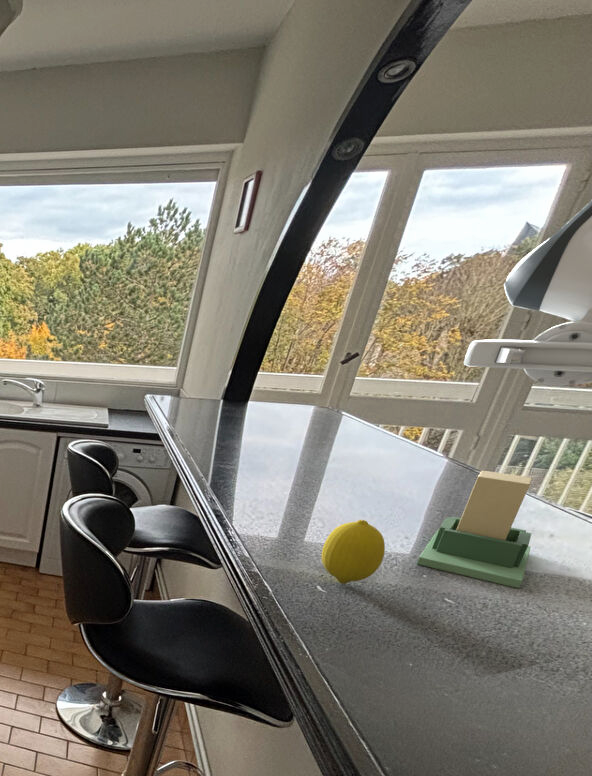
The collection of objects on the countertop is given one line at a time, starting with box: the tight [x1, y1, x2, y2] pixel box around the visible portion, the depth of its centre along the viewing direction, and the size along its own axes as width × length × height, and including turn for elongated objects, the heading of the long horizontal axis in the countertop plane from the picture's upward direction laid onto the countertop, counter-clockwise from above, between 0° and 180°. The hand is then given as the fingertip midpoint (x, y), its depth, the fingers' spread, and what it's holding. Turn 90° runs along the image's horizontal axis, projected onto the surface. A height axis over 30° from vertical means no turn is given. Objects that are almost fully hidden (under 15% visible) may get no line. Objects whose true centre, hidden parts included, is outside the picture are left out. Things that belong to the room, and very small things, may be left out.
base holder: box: [416, 516, 532, 589], centre depth 76 cm, size 16×9×4 cm, turn 131°
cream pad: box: [456, 470, 533, 540], centre depth 75 cm, size 4×4×10 cm
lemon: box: [321, 519, 386, 585], centre depth 68 cm, size 6×6×8 cm
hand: (565, 358), depth 78 cm, fingers open, 8 cm apart
